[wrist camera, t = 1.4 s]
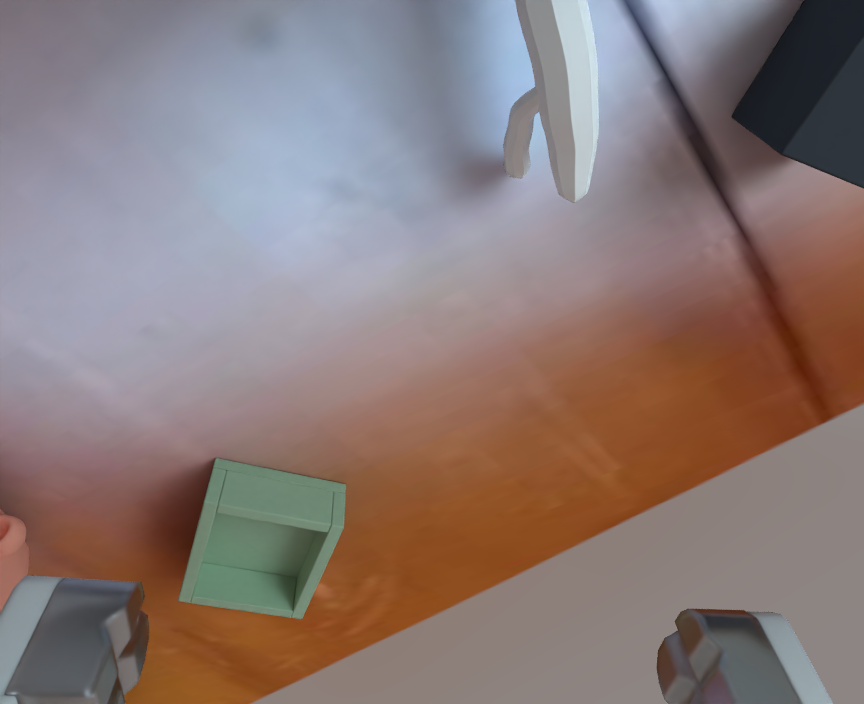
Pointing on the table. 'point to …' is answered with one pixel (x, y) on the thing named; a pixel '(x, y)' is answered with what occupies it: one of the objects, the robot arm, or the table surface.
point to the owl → (558, 94)
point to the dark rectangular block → (814, 91)
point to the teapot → (12, 555)
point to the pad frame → (262, 539)
